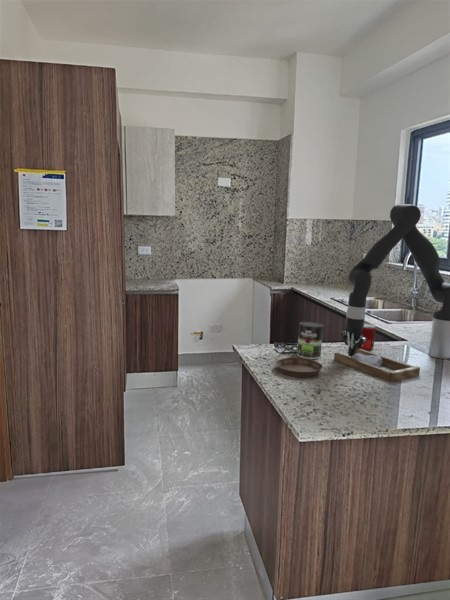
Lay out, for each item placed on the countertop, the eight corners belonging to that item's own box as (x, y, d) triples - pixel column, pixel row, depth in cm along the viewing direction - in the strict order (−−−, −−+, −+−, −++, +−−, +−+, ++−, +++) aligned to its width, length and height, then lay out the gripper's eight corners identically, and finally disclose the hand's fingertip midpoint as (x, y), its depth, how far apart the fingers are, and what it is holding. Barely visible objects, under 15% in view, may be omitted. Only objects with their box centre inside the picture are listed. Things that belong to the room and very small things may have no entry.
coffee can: (318, 360, 191) (321, 327, 189) (294, 357, 195) (296, 324, 192) (322, 354, 200) (325, 323, 198) (299, 351, 204) (302, 320, 202)
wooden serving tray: (360, 355, 202) (360, 347, 201) (419, 375, 177) (420, 367, 177) (334, 359, 193) (334, 352, 193) (392, 381, 169) (393, 372, 168)
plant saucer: (270, 374, 171) (271, 367, 171) (281, 362, 188) (281, 355, 187) (318, 382, 165) (318, 374, 165) (324, 368, 182) (325, 361, 181)
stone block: (376, 375, 182) (383, 364, 189) (376, 364, 180) (383, 354, 188) (347, 370, 188) (354, 360, 196) (347, 359, 186) (354, 349, 194)
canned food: (374, 351, 210) (376, 327, 208) (356, 349, 212) (358, 326, 210) (372, 346, 218) (374, 324, 216) (355, 345, 219) (357, 322, 217)
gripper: (374, 319, 189) (369, 359, 192) (350, 312, 200) (346, 351, 203) (361, 320, 185) (357, 361, 188) (337, 314, 196) (333, 352, 199)
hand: (351, 356), depth 195 cm, fingers closed
